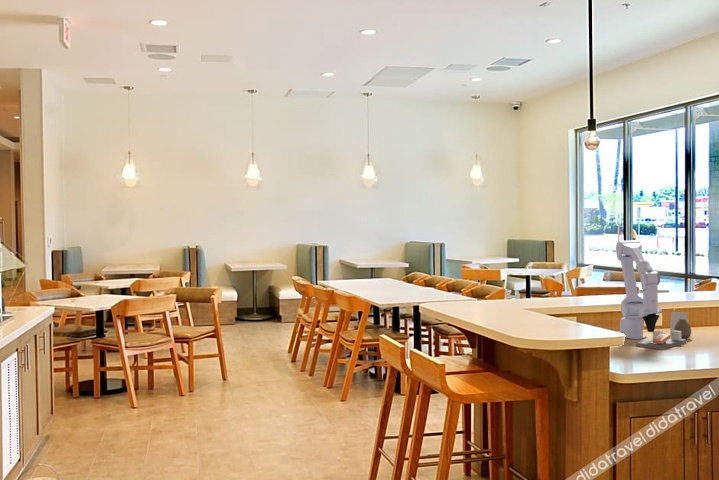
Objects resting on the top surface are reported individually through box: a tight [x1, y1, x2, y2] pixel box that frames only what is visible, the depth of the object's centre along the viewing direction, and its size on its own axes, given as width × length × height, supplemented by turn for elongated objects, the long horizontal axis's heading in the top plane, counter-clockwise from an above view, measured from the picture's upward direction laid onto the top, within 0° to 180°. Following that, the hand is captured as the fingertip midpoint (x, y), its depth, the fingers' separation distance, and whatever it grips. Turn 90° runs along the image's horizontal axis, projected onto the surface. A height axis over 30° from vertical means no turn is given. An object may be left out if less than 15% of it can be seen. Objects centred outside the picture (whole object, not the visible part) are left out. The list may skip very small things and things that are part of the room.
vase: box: [674, 319, 692, 340], centre depth 312 cm, size 7×7×9 cm
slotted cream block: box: [652, 329, 664, 339], centre depth 303 cm, size 3×2×4 cm
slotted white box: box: [670, 330, 682, 341], centre depth 300 cm, size 3×2×4 cm
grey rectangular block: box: [669, 311, 689, 334], centre depth 323 cm, size 4×7×10 cm, turn 48°
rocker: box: [652, 333, 671, 344], centre depth 294 cm, size 4×7×2 cm, turn 127°
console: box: [635, 338, 687, 350], centre depth 300 cm, size 11×20×2 cm, turn 127°
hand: (650, 331), depth 300 cm, fingers closed
